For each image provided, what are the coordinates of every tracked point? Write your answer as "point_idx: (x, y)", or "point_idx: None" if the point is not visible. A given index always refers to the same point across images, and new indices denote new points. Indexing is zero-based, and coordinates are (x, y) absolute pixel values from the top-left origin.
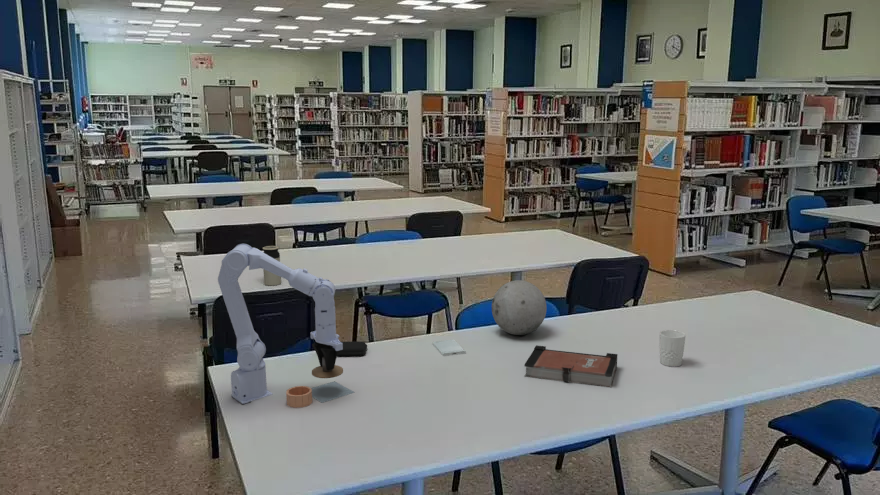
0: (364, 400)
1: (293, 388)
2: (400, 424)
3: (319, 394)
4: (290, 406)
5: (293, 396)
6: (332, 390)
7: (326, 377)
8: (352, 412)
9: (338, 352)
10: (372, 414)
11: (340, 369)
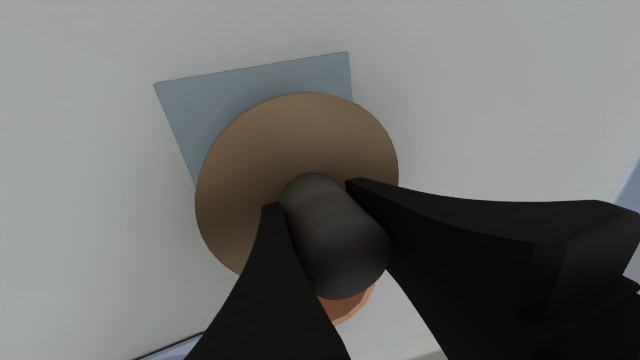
0: (419, 47)
1: None
2: (593, 34)
3: None
4: None
5: (360, 306)
6: None
7: None
8: (459, 129)
9: (512, 206)
10: (507, 78)
11: (341, 118)
